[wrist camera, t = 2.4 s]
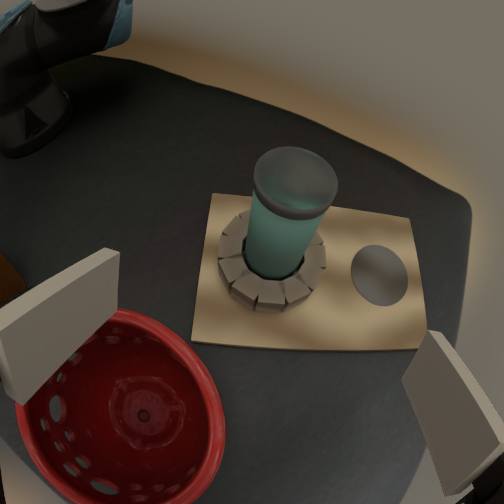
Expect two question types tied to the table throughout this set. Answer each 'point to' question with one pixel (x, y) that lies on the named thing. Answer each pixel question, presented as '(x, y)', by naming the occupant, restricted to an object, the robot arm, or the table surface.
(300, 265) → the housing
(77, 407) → the plant pot
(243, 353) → the table surface
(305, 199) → the teal cylindrical container
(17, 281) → the disposable coffee cup
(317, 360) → the table surface
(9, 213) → the table surface
